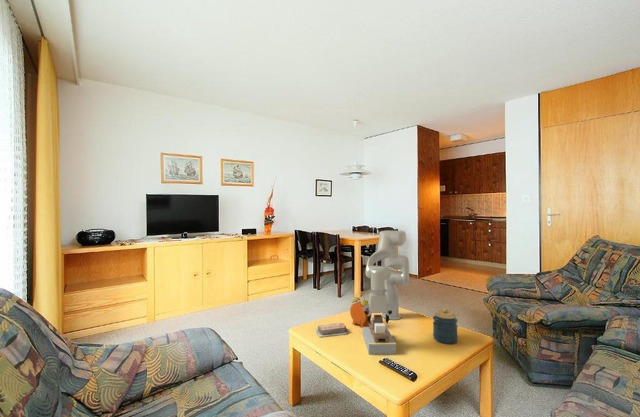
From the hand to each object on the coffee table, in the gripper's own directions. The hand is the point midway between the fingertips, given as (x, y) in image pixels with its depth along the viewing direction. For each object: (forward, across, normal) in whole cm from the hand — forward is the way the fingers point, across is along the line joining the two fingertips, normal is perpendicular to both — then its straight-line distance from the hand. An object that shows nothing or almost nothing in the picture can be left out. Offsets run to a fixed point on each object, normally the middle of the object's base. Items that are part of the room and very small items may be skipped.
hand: (378, 322), depth 162 cm
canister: (+12, -39, -5) cm, 41 cm away
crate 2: (+4, 0, +4) cm, 5 cm away
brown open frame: (+7, 0, 0) cm, 7 cm away
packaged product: (+13, +25, -15) cm, 32 cm away
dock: (+12, 0, 0) cm, 12 cm away
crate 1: (+4, 0, -4) cm, 5 cm away
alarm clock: (+12, +6, -26) cm, 29 cm away
